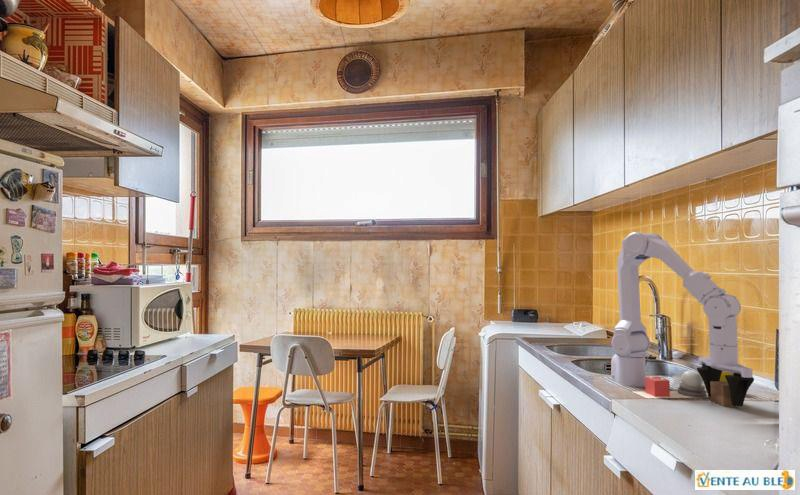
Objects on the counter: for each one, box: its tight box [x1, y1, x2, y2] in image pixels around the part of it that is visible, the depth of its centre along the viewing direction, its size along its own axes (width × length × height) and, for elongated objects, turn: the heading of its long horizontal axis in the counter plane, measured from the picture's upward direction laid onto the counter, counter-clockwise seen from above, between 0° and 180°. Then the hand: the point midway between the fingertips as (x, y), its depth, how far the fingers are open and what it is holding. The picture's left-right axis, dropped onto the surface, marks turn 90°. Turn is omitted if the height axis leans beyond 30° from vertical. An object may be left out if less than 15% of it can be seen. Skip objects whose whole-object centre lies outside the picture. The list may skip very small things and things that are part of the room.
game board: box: [631, 387, 709, 399], centre depth 116 cm, size 16×19×2 cm
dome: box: [678, 369, 706, 392], centre depth 121 cm, size 6×6×5 cm
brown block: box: [710, 381, 735, 408], centre depth 112 cm, size 4×4×6 cm
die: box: [644, 376, 671, 397], centre depth 121 cm, size 4×4×4 cm
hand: (724, 401), depth 112 cm, fingers open, 7 cm apart
